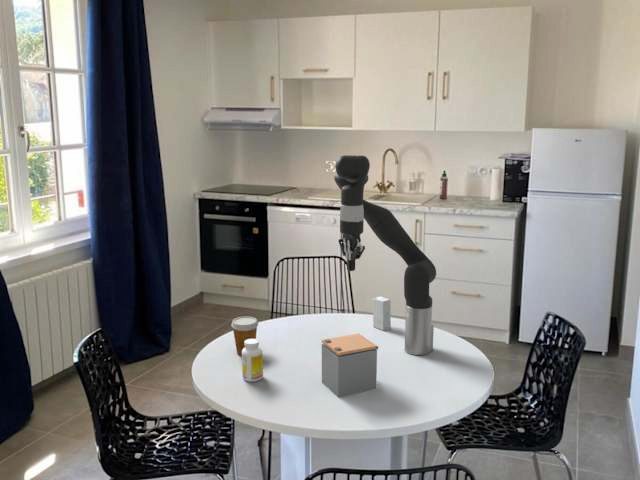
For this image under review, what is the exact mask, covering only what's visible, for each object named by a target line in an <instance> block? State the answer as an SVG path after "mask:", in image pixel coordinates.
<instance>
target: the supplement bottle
mask: <svg viewBox="0 0 640 480" xmlns="http://www.w3.org/2000/svg"><path fill="white" fill-rule="evenodd" d="M244 345H245V348H243V350H242V355H241V367H242V369H241V370H242V371H241V372H242V379H243V380H244V381H246V382H250V383H252V382H253V383H255V382H258V381H261V380H262V379H263V377H264V370H263V369H264V367H263V366H264V365H263V364H264V361H263V350H262V348H261V347H260V346H259V345H260V341H259V339H257V338H256V339H247V340H245V341H244Z"/></svg>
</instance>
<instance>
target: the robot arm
mask: <svg viewBox="0 0 640 480" xmlns="http://www.w3.org/2000/svg"><path fill="white" fill-rule="evenodd" d="M370 165H371V164H370V160H369V158H368V157H367V156H365V155H348V154H347V155H346V154H345V155H341V156H340V155H339V157H337V159H336V161H335V172H336V174H335V175H334V177H333V178H334V182H335V183H336V185H337V187H338V188H339V190H340V191H341V193H340V197H341V198H340V208H339V209H340V210H339V232H340V233H341V234H342V236H341V237H342V238H339V239H338V241H337V242H338V244H339V248H340V250H341V253H342V255H343V256H344V257H345V259H346V270H347V271H349V272H354V271H356V260H360V258H361V256H362V255H363V253H364V251H365V250H366V247H365V245H362V243H361V242H362V239H361V234H363V233H364V224H365V223H364V221H365V222H366V223H367V225H368V226H369V228H370V229H371V230H372V232H373V233H374V234H375V236H376V237H377V238H378V239H379V240H380V241H381V242H382V244H384V245H385V246H387V247H388V248H389V249H391V250H392V251H393V252H395V253H396V254H398V255H399V256H400V257H401V258H402V260H403V261H404V262H405V264H406V265H407V267H405V270H404V277H403V295H404V299H405V319H404V320H405V323H404V324H405V328H404V329H405V330H404V351H405V352H406V353H408V354H409V355H415V356H424V355H428V354H429V353H430V352H433V351H434V333H435V331H434V330H435V329H434V328H435V327H434V325H433V324H432V323H433V322H432V321H433V319H432V316H433V297H431V296H430V283H432V282H434V280H435V279H436V276H437V269H436V266H435V265H434V263H433V262H432V260H431V259H430V258H428V256H427V255H426V254H425V253H424V252H423V251H422V250H421V249H420V248H419V247H418V245H417V244H416V243H415V242H414V241H413V240H412V238H411V236H410V235H409V234H408V233H407V231H406V230H405V229H404V227H403V226H402V225H401V223H400V222H399V220H398V218H396V216H395V215H394V214H393V213H392V212H391V210H389V209H387V208H386V207H383V206H381V205H378V204H374V203H372V202H369V201H367V200H365V199H364V191H365V185H366V184H367V183H368V181H369V175H368V174H369V172H370V167H371V166H370Z"/></svg>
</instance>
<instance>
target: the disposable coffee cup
mask: <svg viewBox="0 0 640 480" xmlns="http://www.w3.org/2000/svg"><path fill="white" fill-rule="evenodd" d="M231 322H232V323H231V324H230V325H231V327H232V332H233V336H234V343H235V348H236V354H237V355H239V356H242V350H243V348H245V345H244V341H245V340H247V339H257V333H258V332H257V331H258V330H257V329H258V327H259V322H258V319H257V318H256V317H253V316H239V317H236V318H233V319H232V321H231Z"/></svg>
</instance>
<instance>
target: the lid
mask: <svg viewBox="0 0 640 480" xmlns="http://www.w3.org/2000/svg"><path fill="white" fill-rule="evenodd" d="M321 344H324V345H326V346H327V347H328V348H329V349H331V350H332V351H333V352H334V353H336V354H337V355H338V356H339V355H344V354H350V353H356V352H361V351H367V350H372V349H376V350H377V351H378V350H379V346H378V345H376V344H375V342H372V341H371V340H369V339H368V338H366V337H365V336H364V335H363V334H360V333H353V334H349V335H341V336H336V337H331V338H323V339H321Z"/></svg>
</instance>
